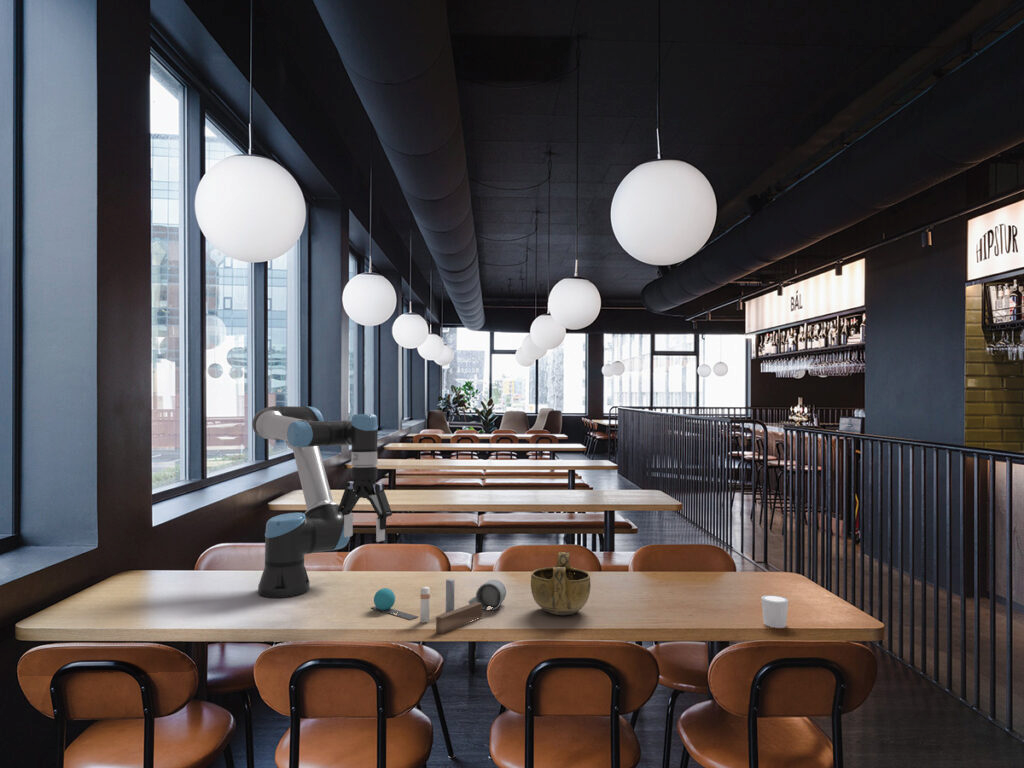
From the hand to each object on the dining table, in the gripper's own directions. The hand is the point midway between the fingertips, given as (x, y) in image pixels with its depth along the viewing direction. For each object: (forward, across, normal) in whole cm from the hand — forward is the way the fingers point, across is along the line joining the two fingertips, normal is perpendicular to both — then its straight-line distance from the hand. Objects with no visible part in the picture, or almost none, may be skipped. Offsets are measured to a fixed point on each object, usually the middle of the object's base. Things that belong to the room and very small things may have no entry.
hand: (364, 538), depth 191 cm
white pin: (+20, +25, -2) cm, 32 cm away
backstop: (+20, +34, +2) cm, 40 cm away
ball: (+16, +9, -1) cm, 19 cm away
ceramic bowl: (+20, +51, +27) cm, 61 cm away
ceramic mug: (+20, +31, +19) cm, 41 cm away
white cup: (+22, +103, +53) cm, 118 cm away
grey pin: (+19, +26, +8) cm, 33 cm away
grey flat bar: (+19, +13, -1) cm, 23 cm away
